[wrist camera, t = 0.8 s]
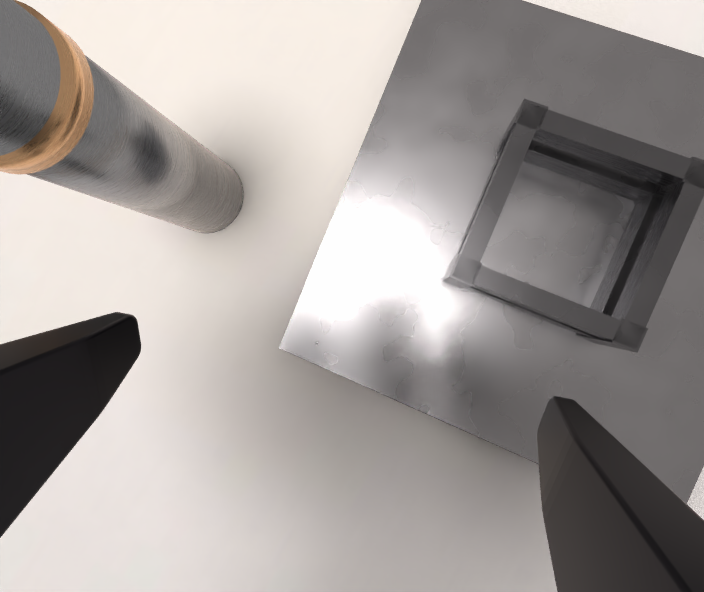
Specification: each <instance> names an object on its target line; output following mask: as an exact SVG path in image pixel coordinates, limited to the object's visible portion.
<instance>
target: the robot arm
mask: <svg viewBox="0 0 704 592" xmlns="http://www.w3.org/2000/svg"><path fill="white" fill-rule="evenodd" d="M140 351H141V341H140V335H139V329H138V323H137V319H136V318H135V317H134V316H133V315H130V314H125V313H120V312H114V313H111V314H107V315H104V316H100V317H96V318H93V319H89V320H86V321H82V322H79V323H75V324H71V325H68V326H64V327H61V328H57V329H54V330H50V331H46V332H43V333H39V334H36V335H32V336H29V337H25V338H22V339H18V340H14V341H11V342H7V343H4V344H0V538H1V536H2V535H3V534H4V533H5V531H6V530H7V529H8V528H9V526H10V525H11V524H12V523H13V522H14V520H15V519H16V518H17V517H18V515H19V514H20V513H21V512H22V510H23V509H24V508H25V507H26V505H27V504H28V503H29V502H30V501H31V499H32V498H33V497H34V496H35V494H36V493H37V492H38V491H39V489H40V488H41V487H42V486H43V484H44V483H45V482H46V481H47V479H48V478H49V477H50V476H51V475H52V473H53V472H54V471H55V470H56V468H57V467H58V466H59V465H60V463H61V462H62V461H63V460H64V458H65V457H66V456H67V455H68V453H69V452H70V451H71V450H72V449H73V447H74V446H75V445H76V444H77V442H78V441H79V440H80V439H81V437H82V436H83V435H84V434H85V432H86V431H87V430H88V429H89V427H90V426H91V425H92V424H93V423H94V421H95V420H96V419H97V417H98V416H99V415H100V414H101V412H102V411H103V410H104V408H105V407H106V405H107V404H108V402H109V401H110V399H111V398H112V396H113V395H114V393H115V392H116V390H117V389H118V387H119V386H120V384H121V383H122V381H123V380H124V378H125V376H126V375H127V373H128V372H129V370H130V369H131V367H132V366H133V364H134V363H135V361H136V360H137V358H138V356H139V354H140ZM537 444H538V459H539V473H540V488H541V501H542V511H543V517H544V523H545V528H546V533H547V539H548V544H549V549H550V554H551V560H552V565H553V570H554V575H555V581H556V586H557V591H558V592H704V520H703V519H702V518H701V517H700V516H699V515H698V514H697V513H695V512H694V511H693V510H692V509H691V508H690V507H689V506H688V505H687V504H686V503H685V502H684V501H683V500H681V499H680V498H679V497H678V496H677V495H676V494H675V493H674V492H673V491H672V490H671V489H670V488H669V487H667V486H666V485H665V484H664V483H663V482H662V481H661V480H660V479H659V478H658V477H657V476H656V475H655V474H653V473H652V472H651V471H650V470H649V469H648V468H647V467H646V466H645V465H644V464H643V463H642V462H641V461H640V460H638V459H637V458H636V457H635V456H634V455H633V454H632V453H631V452H630V451H629V450H628V449H627V448H626V447H624V446H623V445H622V444H621V443H620V442H619V441H618V440H617V439H616V438H615V437H614V436H613V435H612V434H610V433H609V432H608V431H607V430H606V429H605V428H604V427H603V426H602V425H601V424H600V423H599V422H598V421H596V420H595V419H594V418H593V417H592V416H591V415H590V414H589V413H588V412H587V411H586V410H585V409H584V408H582V407H581V406H580V405H579V404H578V403H577V402H576V401H575V400H573V399H569V398H563V397H558V396H553V397H551V398H550V399H549V401H548V403H547V406H546V408H545V411H544V413H543V416H542V418H541V421H540V424H539V426H538V431H537Z"/></svg>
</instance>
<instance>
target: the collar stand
mask: <svg viewBox="0 0 704 592" xmlns="http://www.w3.org/2000/svg"><path fill="white" fill-rule="evenodd" d="M279 348H280V349H282V350H284V351H286V352H289V353H291V354H293V355H295V356H298V357H300V358H302V359H304V360H307V361H309V362H311V363H313V364H316V365H318V366H320V367H322V368H325V369H327V370H329V371H331V372H333V373H336V374H338V375H340V376H342V377H345V378H347V379H349V380H351V381H354V382H356V383H358V384H360V385H363V386H365V387H367V388H369V389H372V390H374V391H376V392H378V393H381V394H383V395H385V396H387V397H390V398H392V399H394V400H396V401H399V402H401V403H403V404H405V405H407V406H410V407H412V408H414V409H416V410H419V411H421V412H423V413H425V414H428V415H430V416H432V417H434V418H437V419H439V420H441V421H443V422H446V423H448V424H450V425H452V426H455V427H457V428H459V429H461V430H464V431H466V432H468V433H470V434H473V435H475V436H477V437H479V438H481V439H484V440H486V441H488V442H490V443H493V444H495V445H497V446H499V447H502V448H504V449H506V450H508V451H511V452H513V453H515V454H517V455H520V456H522V457H524V458H526V459H529V460H531V461H533V462H535V463H538V464H539V459H538V444H537V431H538V426H539V424H540V421H541V418H542V416H543V413H544V411H545V408H546V406H547V403H548V401H549V399H550V398H551V397H553V396H558V397H563V398H569V399H573V400H575V401H576V402H577V403H578V404H579V405H580V406H581V407H582V408H584V409H585V410H586V411H587V412H588V413H589V414H590V415H591V416H592V417H593V418H594V419H595V420H596V421H598V422H599V423H600V424H601V425H602V426H603V427H604V428H605V429H606V430H607V431H608V432H609V433H610V434H612V435H613V436H614V437H615V438H616V439H617V440H618V441H619V442H620V443H621V444H622V445H623V446H624V447H626V448H627V449H628V450H629V451H630V452H631V453H632V454H633V455H634V456H635V457H636V458H637V459H638V460H640V461H641V462H642V463H643V464H644V465H645V466H646V467H647V468H648V469H649V470H650V471H651V472H652V473H653V474H655V475H656V476H657V477H658V478H659V479H660V480H661V481H662V482H663V483H664V484H665V485H666V486H667V487H669V488H670V489H671V490H672V491H673V492H674V493H675V494H676V495H677V496H678V497H679V498H680V499H681V500H683V501H684V502H685V503H686V504H687V502H688V499H689V497H690V495H691V493H692V490H693V488H694V486H695V484H696V482H697V479H698V477H699V475H700V473H701V471H702V468H703V466H704V57H700V56H697V55H694V54H691V53H688V52H685V51H681V50H678V49H675V48H672V47H669V46H665V45H662V44H659V43H656V42H653V41H650V40H646V39H643V38H640V37H637V36H634V35H631V34H627V33H624V32H621V31H618V30H615V29H612V28H608V27H605V26H602V25H599V24H596V23H592V22H589V21H586V20H583V19H580V18H577V17H573V16H570V15H567V14H564V13H561V12H558V11H554V10H551V9H548V8H545V7H542V6H539V5H535V4H532V3H529V2H526V1H523V0H421V3H420V5H419V8H418V10H417V12H416V15H415V17H414V20H413V22H412V25H411V27H410V29H409V32H408V34H407V37H406V39H405V42H404V44H403V46H402V49H401V51H400V54H399V56H398V59H397V61H396V64H395V66H394V68H393V71H392V73H391V76H390V78H389V81H388V83H387V85H386V88H385V90H384V93H383V95H382V98H381V100H380V102H379V105H378V107H377V110H376V112H375V115H374V117H373V119H372V122H371V124H370V127H369V129H368V132H367V134H366V137H365V139H364V141H363V144H362V146H361V149H360V151H359V154H358V156H357V158H356V161H355V163H354V166H353V168H352V171H351V173H350V175H349V178H348V180H347V183H346V185H345V188H344V190H343V193H342V195H341V197H340V200H339V202H338V205H337V207H336V210H335V212H334V214H333V217H332V219H331V222H330V224H329V227H328V229H327V231H326V234H325V236H324V239H323V241H322V244H321V246H320V248H319V251H318V253H317V256H316V258H315V261H314V263H313V266H312V268H311V270H310V273H309V275H308V278H307V280H306V283H305V285H304V287H303V290H302V292H301V295H300V297H299V300H298V302H297V304H296V307H295V309H294V312H293V314H292V317H291V319H290V321H289V324H288V326H287V329H286V331H285V334H284V336H283V339H282V341H281V343H280V346H279Z"/></svg>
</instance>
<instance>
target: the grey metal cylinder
mask: <svg viewBox="0 0 704 592" xmlns="http://www.w3.org/2000/svg"><path fill="white" fill-rule="evenodd" d="M0 171H2V172H6V173H10V174H27V175H30V176H33V177H36V178H39V179H42V180H45V181H48V182H51V183H54V184H57V185H60V186H63V187H66V188H69V189H72V190H75V191H78V192H81V193H84V194H87V195H90V196H93V197H96V198H98V199H101V200H104V201H107V202H110V203H113V204H116V205H119V206H122V207H125V208H128V209H131V210H134V211H137V212H140V213H143V214H146V215H149V216H152V217H155V218H158V219H161V220H164V221H167V222H170V223H173V224H176V225H179V226H182V227H185V228H188V229H191V230H193V231H196V232H201V233H212V232H217V231H220V230H222V229H224V228H225V227H227V226H228V225H229V224H231V223H232V222H233V220H234V219H235V218H236V217H237V215H238V213H239V211H240V209H241V206H242V202H243V187H242V183H241V181H240V178H239V176H238V175H237V173H236V172H235V171H234V170H233V169H232V168H231V167H230V166H229V165H228V164H226V163H225V162H224V161H222V160H221V159H220V158H219V157H217V156H216V155H215V154H213V153H212V152H211V151H209V150H208V149H207V148H205V147H204V146H203V145H202V144H200V143H199V142H198V141H196V140H195V139H194V138H192V137H191V136H190V135H188V134H187V133H186V132H185V131H183V130H182V129H181V128H179V127H178V126H177V125H175V124H174V123H173V122H172V121H170V120H169V119H168V118H166V117H165V116H164V115H162V114H161V113H160V112H158V111H157V110H156V109H155V108H153V107H152V106H151V105H149V104H148V103H147V102H145V101H144V100H143V99H141V98H140V97H139V96H138V95H136V94H135V93H134V92H132V91H131V90H130V89H128V88H127V87H126V86H124V85H123V84H122V83H121V82H119V81H118V80H117V79H115V78H114V77H113V76H111V75H110V74H109V73H108V72H106V71H105V70H104V69H102V68H101V67H100V66H98V65H97V64H96V63H94V62H93V61H92V60H91V59H89V58H88V57H87V56H85V55H84V54H83V52H82V50H81V49H80V48H79V46H78V45H77V44H76V42H74V41H73V40H72V39H71V38H70V37H69V36H68V35H67V34H66V33H64V32H63V31H62V30H60V29H59V28H58V27H57V26H55V25H54V24H53V23H52V22H50V21H49V20H48V19H46V18H45V17H44V16H43V15H41V14H40V13H39V12H37V11H36V10H35V9H33V8H32V7H30V6H28V5H26V4H24V3H22V2H19V1H16V0H0Z"/></svg>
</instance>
